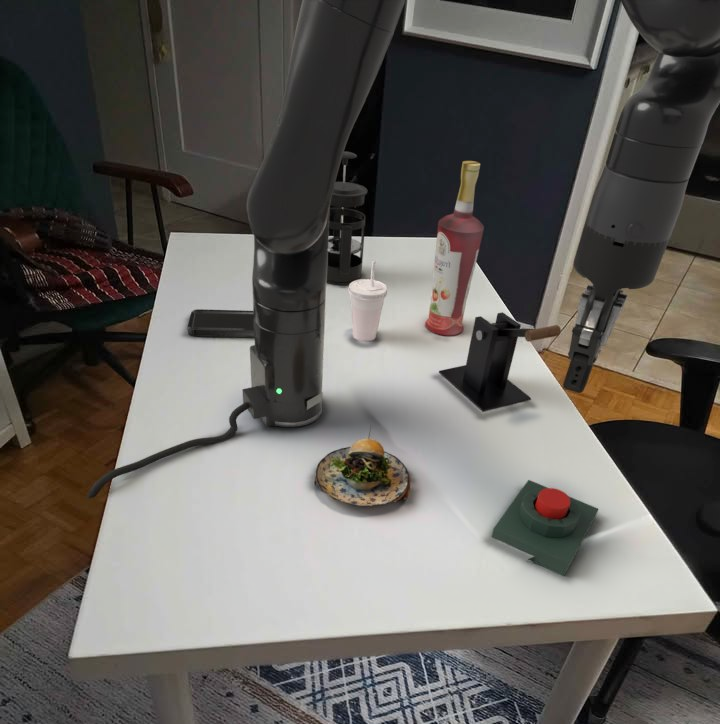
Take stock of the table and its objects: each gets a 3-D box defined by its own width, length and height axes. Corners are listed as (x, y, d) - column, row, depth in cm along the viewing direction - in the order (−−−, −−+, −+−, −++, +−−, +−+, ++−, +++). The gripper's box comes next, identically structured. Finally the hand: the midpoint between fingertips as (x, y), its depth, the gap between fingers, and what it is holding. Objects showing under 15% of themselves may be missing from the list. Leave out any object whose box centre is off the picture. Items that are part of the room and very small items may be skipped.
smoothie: (378, 352, 108) (386, 270, 99) (341, 346, 109) (346, 264, 100) (385, 335, 113) (393, 256, 104) (349, 329, 114) (354, 250, 105)
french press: (313, 265, 135) (316, 144, 120) (357, 265, 137) (365, 146, 122) (320, 289, 126) (324, 161, 111) (367, 288, 128) (377, 163, 113)
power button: (560, 524, 73) (564, 513, 72) (530, 511, 74) (534, 500, 73) (570, 507, 75) (574, 496, 74) (541, 495, 77) (545, 483, 75)
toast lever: (561, 339, 87) (560, 321, 86) (532, 345, 85) (531, 326, 84) (503, 337, 97) (502, 321, 96) (476, 343, 95) (475, 326, 94)
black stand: (529, 404, 99) (549, 334, 91) (481, 416, 95) (498, 344, 88) (483, 367, 107) (498, 299, 99) (437, 377, 103) (449, 308, 96)
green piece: (564, 576, 72) (574, 551, 69) (489, 542, 75) (496, 516, 72) (593, 521, 79) (603, 497, 76) (524, 492, 82) (532, 468, 80)
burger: (296, 491, 79) (296, 442, 75) (346, 445, 87) (350, 398, 83) (380, 531, 75) (386, 481, 70) (425, 478, 83) (434, 431, 78)
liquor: (471, 337, 115) (505, 168, 97) (437, 344, 112) (465, 171, 94) (448, 320, 119) (476, 155, 101) (415, 326, 116) (438, 158, 99)
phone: (192, 309, 113) (278, 311, 114) (192, 315, 114) (278, 317, 115) (186, 330, 107) (277, 331, 108) (187, 336, 108) (277, 338, 109)
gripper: (601, 198, 64) (554, 353, 75) (570, 234, 55) (522, 405, 66) (679, 215, 62) (619, 372, 73) (661, 256, 53) (595, 429, 64)
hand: (573, 387), depth 70 cm, fingers closed
